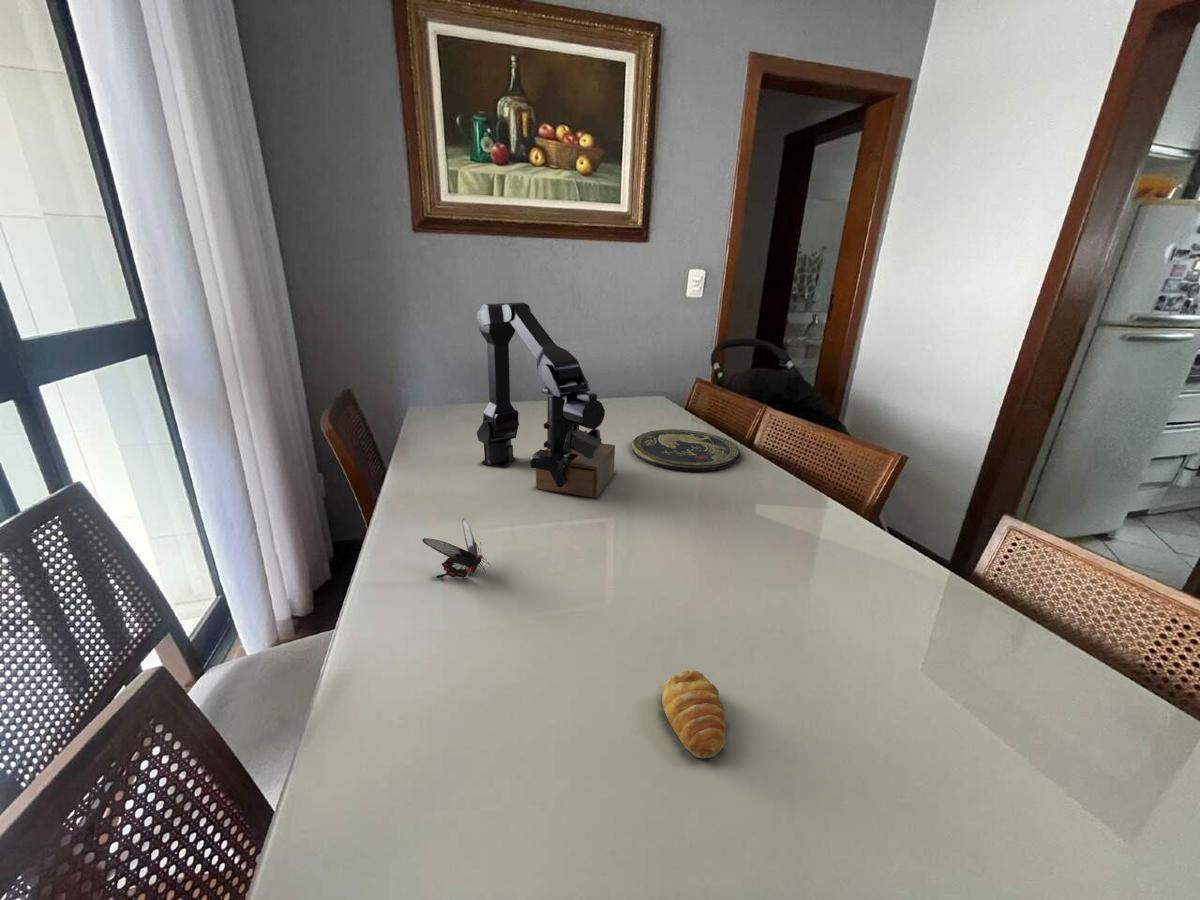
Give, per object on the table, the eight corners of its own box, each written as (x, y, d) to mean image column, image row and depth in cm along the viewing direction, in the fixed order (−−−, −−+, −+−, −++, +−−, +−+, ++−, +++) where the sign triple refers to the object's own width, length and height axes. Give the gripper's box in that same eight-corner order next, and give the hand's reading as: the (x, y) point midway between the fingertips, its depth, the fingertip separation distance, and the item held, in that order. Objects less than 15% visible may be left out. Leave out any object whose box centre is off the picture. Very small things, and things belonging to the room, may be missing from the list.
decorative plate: (750, 469, 121) (630, 461, 123) (749, 476, 122) (629, 468, 124) (731, 431, 149) (633, 425, 151) (730, 437, 150) (633, 431, 152)
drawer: (590, 499, 106) (591, 474, 104) (534, 489, 109) (533, 466, 107) (609, 473, 119) (610, 451, 117) (558, 465, 123) (558, 444, 121)
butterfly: (447, 598, 81) (416, 547, 82) (490, 570, 86) (460, 522, 86) (455, 593, 72) (420, 536, 73) (503, 562, 76) (469, 508, 77)
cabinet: (596, 498, 108) (597, 467, 105) (536, 488, 112) (535, 458, 109) (614, 473, 121) (615, 445, 119) (559, 465, 125) (559, 437, 122)
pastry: (740, 758, 52) (744, 733, 51) (679, 767, 51) (681, 741, 50) (708, 687, 61) (711, 663, 59) (656, 693, 60) (658, 669, 58)
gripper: (582, 434, 90) (580, 510, 95) (610, 412, 107) (607, 478, 112) (528, 427, 93) (528, 501, 98) (564, 406, 110) (562, 471, 115)
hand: (560, 487), depth 106 cm, fingers closed
